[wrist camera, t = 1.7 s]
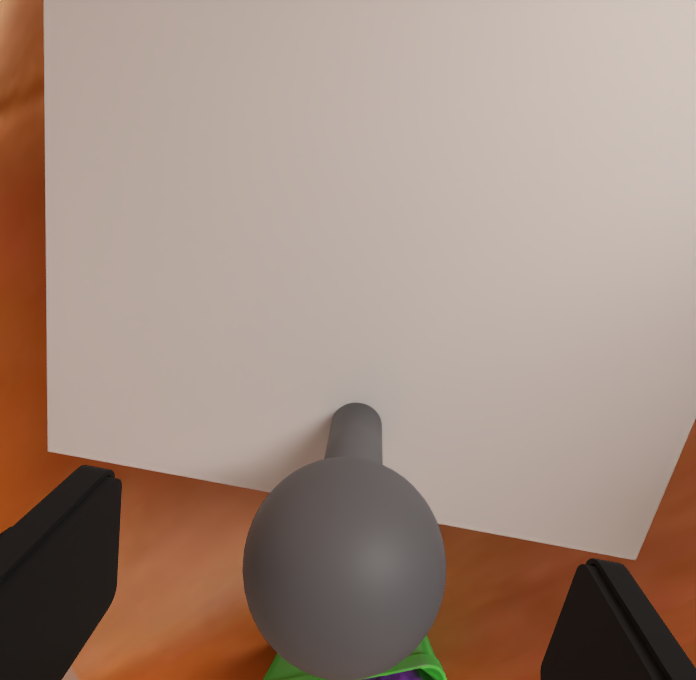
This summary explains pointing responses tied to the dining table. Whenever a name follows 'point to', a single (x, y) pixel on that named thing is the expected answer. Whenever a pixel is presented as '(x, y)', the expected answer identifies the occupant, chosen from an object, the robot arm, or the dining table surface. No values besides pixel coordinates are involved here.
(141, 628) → the dining table surface
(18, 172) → the dining table surface
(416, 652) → the fruit basket
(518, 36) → the flat white panel
